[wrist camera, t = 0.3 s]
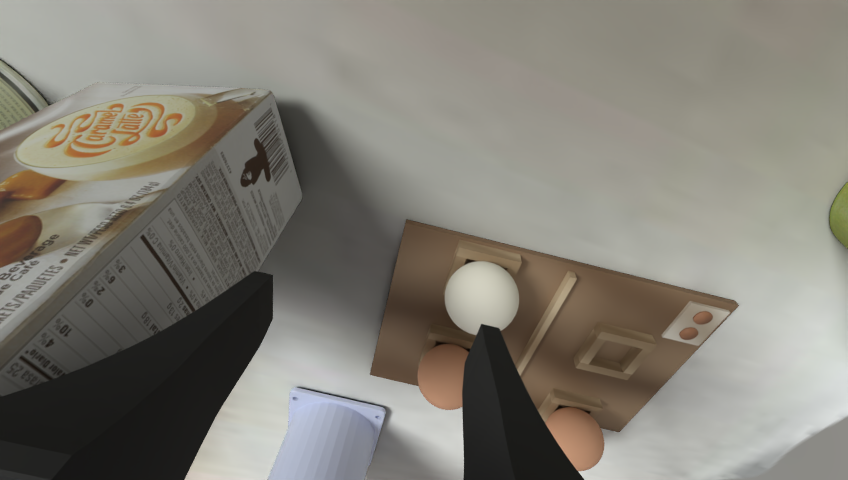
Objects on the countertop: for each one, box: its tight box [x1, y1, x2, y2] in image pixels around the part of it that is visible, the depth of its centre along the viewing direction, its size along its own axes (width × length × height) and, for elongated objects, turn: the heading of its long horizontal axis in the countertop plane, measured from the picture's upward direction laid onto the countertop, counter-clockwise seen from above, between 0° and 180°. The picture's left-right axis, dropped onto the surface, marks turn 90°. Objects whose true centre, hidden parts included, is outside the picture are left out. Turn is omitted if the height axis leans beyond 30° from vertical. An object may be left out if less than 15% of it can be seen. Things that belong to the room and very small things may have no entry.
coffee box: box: [0, 82, 302, 397], centre depth 14 cm, size 9×6×16 cm
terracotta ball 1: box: [418, 344, 469, 410], centre depth 25 cm, size 4×4×4 cm
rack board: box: [370, 219, 739, 432], centre depth 26 cm, size 14×20×1 cm
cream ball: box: [445, 261, 519, 335], centre depth 21 cm, size 4×4×4 cm
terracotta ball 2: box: [545, 407, 604, 471], centre depth 27 cm, size 4×4×4 cm
